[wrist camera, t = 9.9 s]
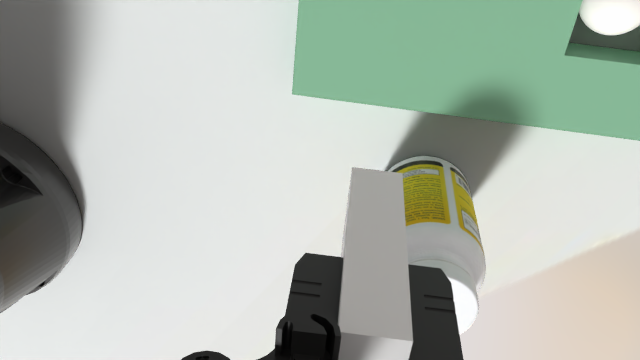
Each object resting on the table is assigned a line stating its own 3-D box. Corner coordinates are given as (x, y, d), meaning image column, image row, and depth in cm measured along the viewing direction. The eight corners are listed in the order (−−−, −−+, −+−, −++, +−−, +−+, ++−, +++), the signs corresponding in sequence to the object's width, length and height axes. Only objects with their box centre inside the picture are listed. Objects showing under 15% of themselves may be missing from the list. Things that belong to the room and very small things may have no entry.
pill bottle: (361, 210, 40) (351, 327, 30) (401, 138, 36) (403, 244, 27) (442, 242, 40) (456, 366, 31) (487, 174, 37) (518, 290, 28)
